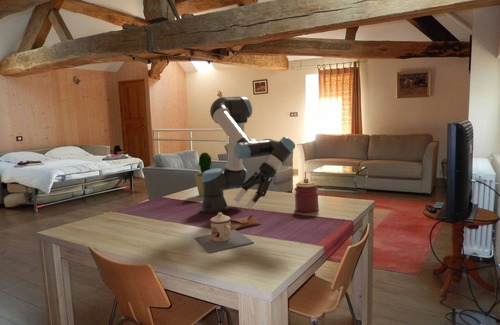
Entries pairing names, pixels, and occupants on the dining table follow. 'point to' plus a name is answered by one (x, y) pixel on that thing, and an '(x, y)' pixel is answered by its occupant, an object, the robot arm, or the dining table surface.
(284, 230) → the dining table surface
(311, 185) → the canister
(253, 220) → the sunglasses case
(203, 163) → the potted cactus
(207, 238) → the charcoal mat
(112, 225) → the dining table surface
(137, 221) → the dining table surface
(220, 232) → the teacup with lid
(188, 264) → the dining table surface
